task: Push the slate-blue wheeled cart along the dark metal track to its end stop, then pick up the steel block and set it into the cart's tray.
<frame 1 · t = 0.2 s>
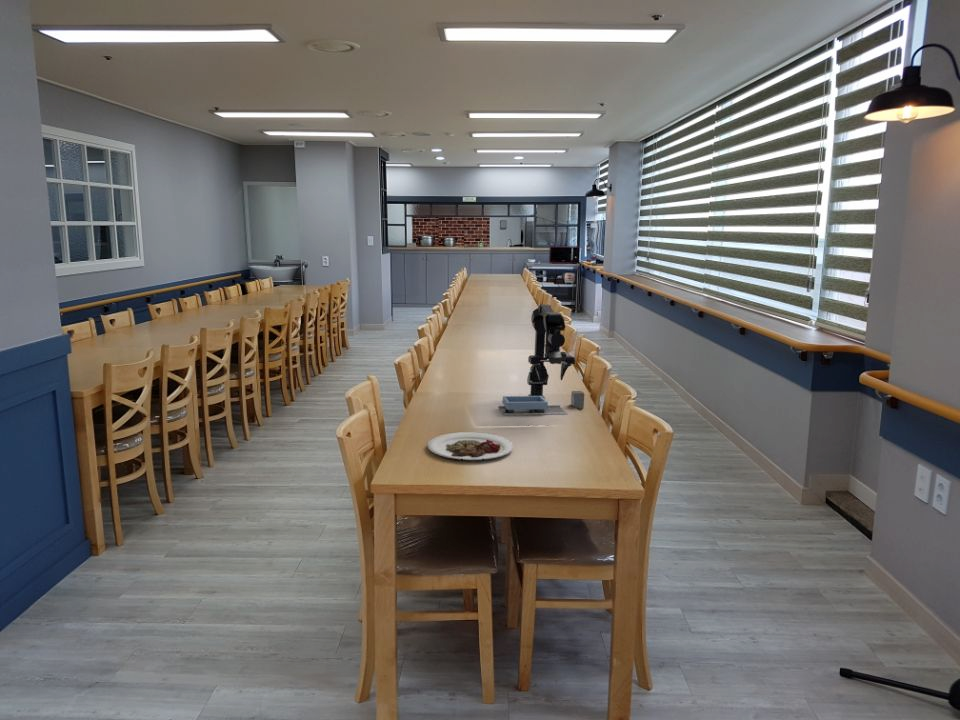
hand: (550, 379, 288), 15 cm above the table, tool pointing down, fingers open, 9 cm apart
track: (532, 412, 292), on the table
plated food: (470, 450, 242), on the table
cart: (524, 404, 291), point 3 cm above the table, slide at 0.0 cm
steel block: (577, 407, 302), on the table
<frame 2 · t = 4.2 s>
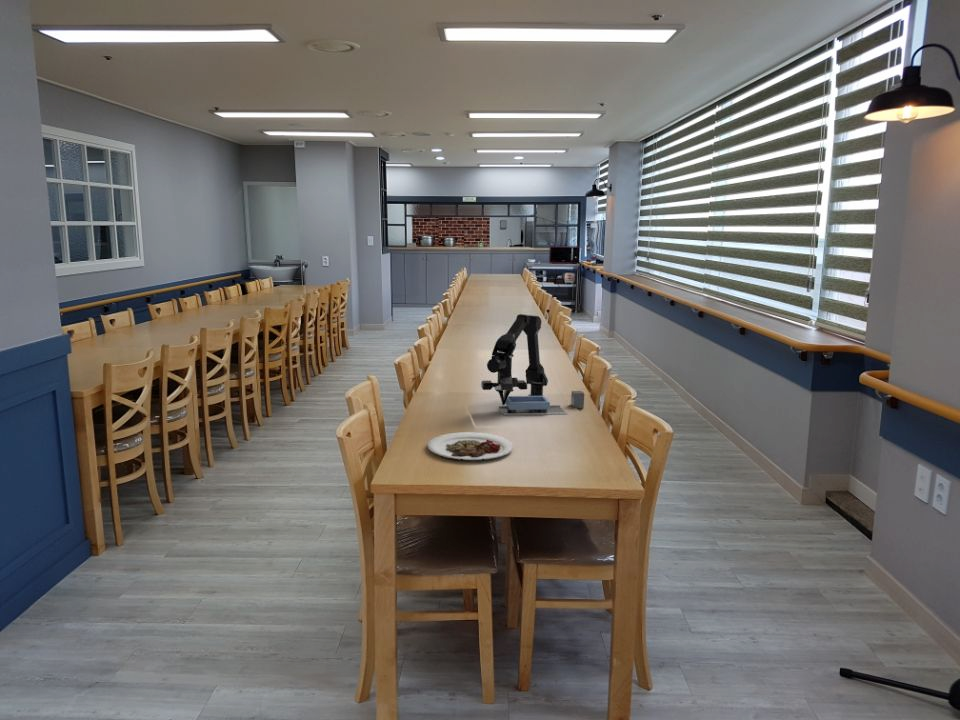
hand: (503, 404, 290), 3 cm above the table, tool pointing down, fingers closed
cart: (527, 404, 291), point 3 cm above the table, slide at 1.0 cm, touching gripper
everything else where it was.
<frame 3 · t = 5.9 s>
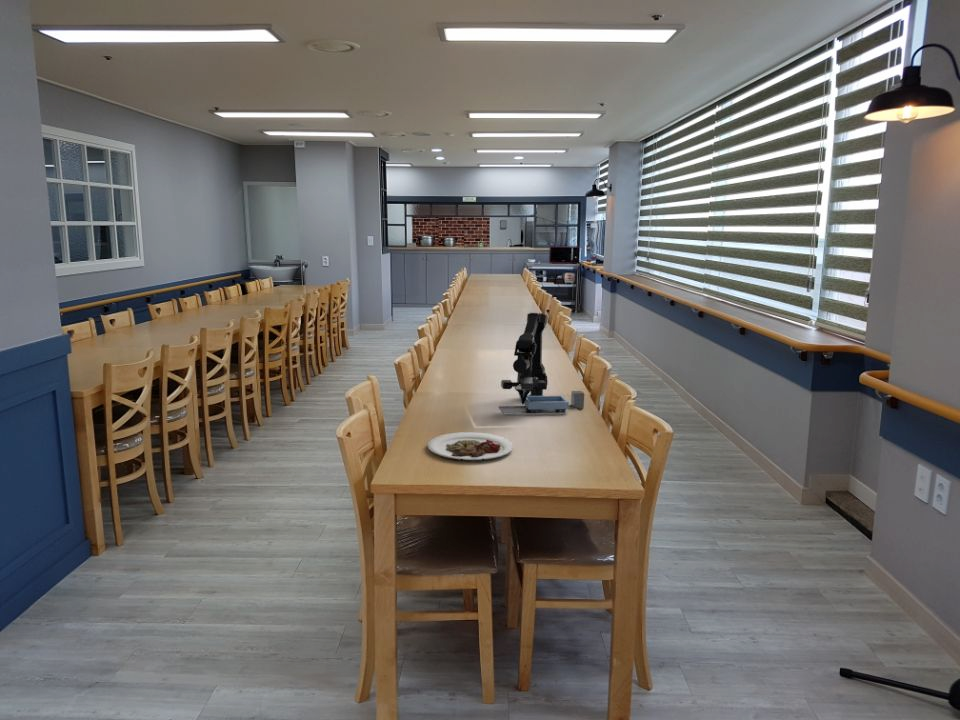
hand: (522, 404, 291), 3 cm above the table, tool pointing down, fingers closed
cart: (545, 404, 293), point 3 cm above the table, slide at 9.1 cm, touching gripper
everything else where it was.
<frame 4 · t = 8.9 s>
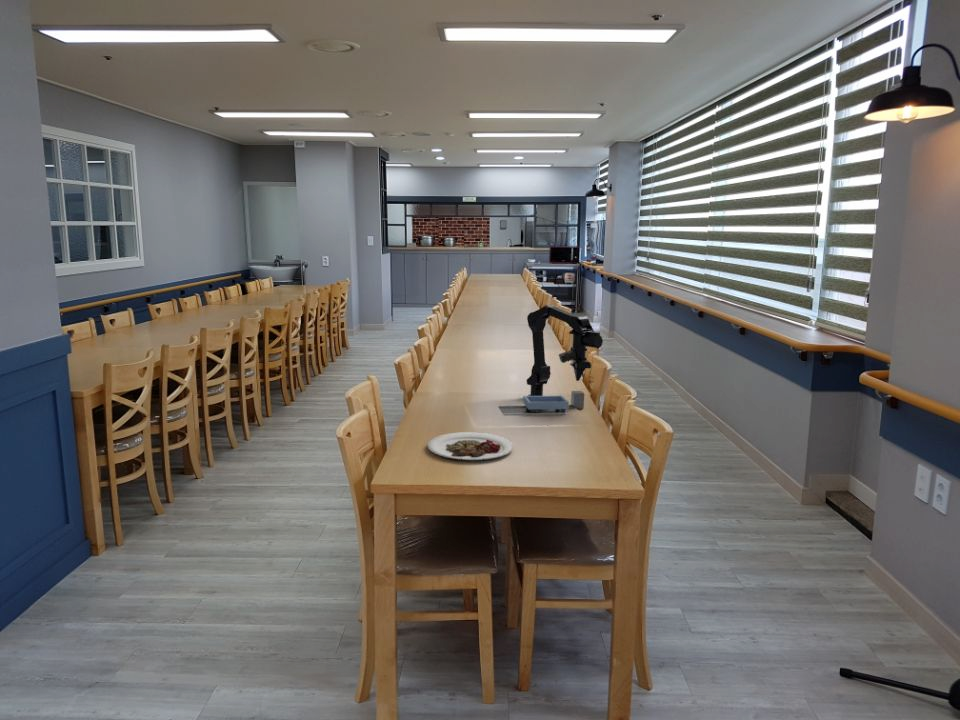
hand: (577, 380, 300), 12 cm above the table, tool pointing down, fingers closed
cart: (545, 404, 293), point 3 cm above the table, slide at 9.0 cm
everything else where it was.
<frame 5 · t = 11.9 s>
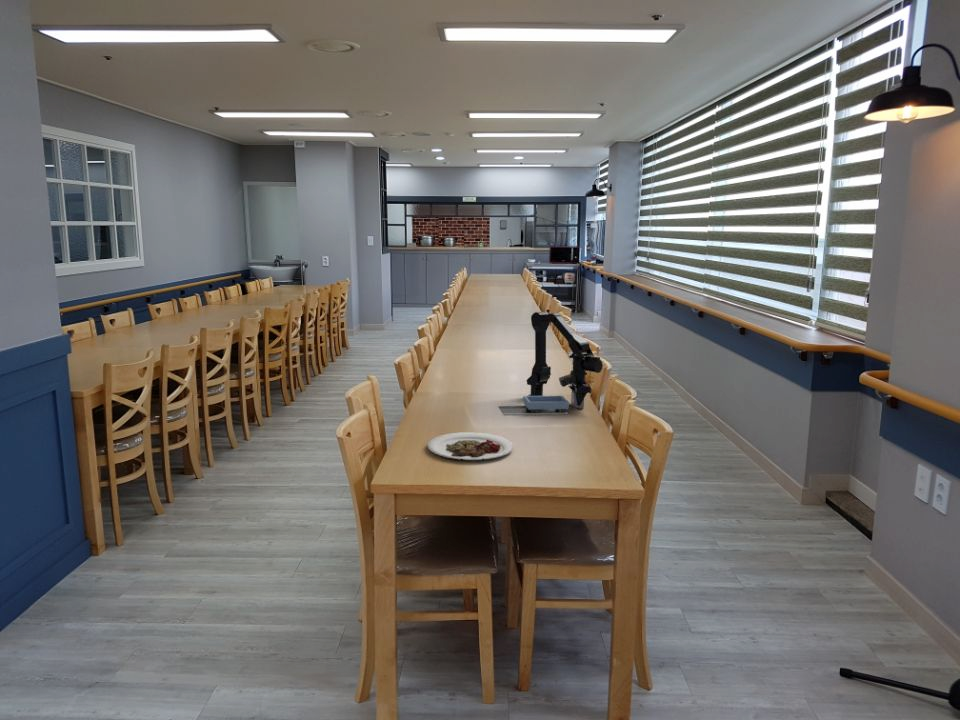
hand: (577, 404, 302), 2 cm above the table, tool pointing down, fingers closed on steel block, 4 cm apart
steel block: (577, 407, 302), on the table, touching gripper
everything else where it was.
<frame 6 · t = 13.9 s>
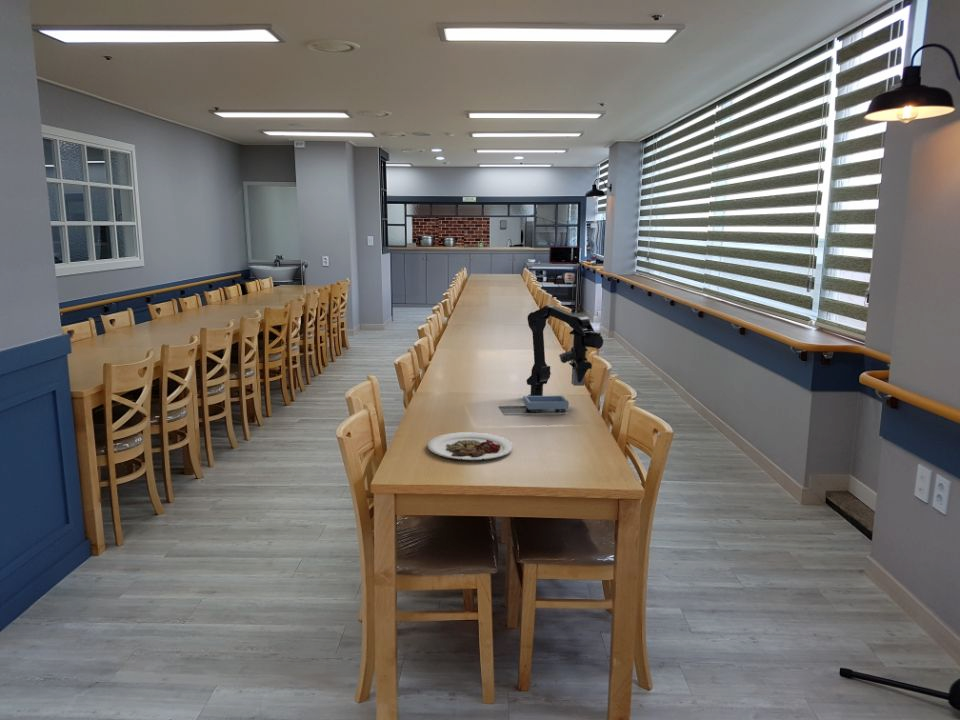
hand: (577, 381, 300), 12 cm above the table, tool pointing down, fingers closed on steel block, 4 cm apart
steel block: (577, 384, 300), point 10 cm above the table, touching gripper
everything else where it was.
when the fingers open (7 cm above the table, at t = 16.2 s): steel block drops 1 cm, resting on cart.
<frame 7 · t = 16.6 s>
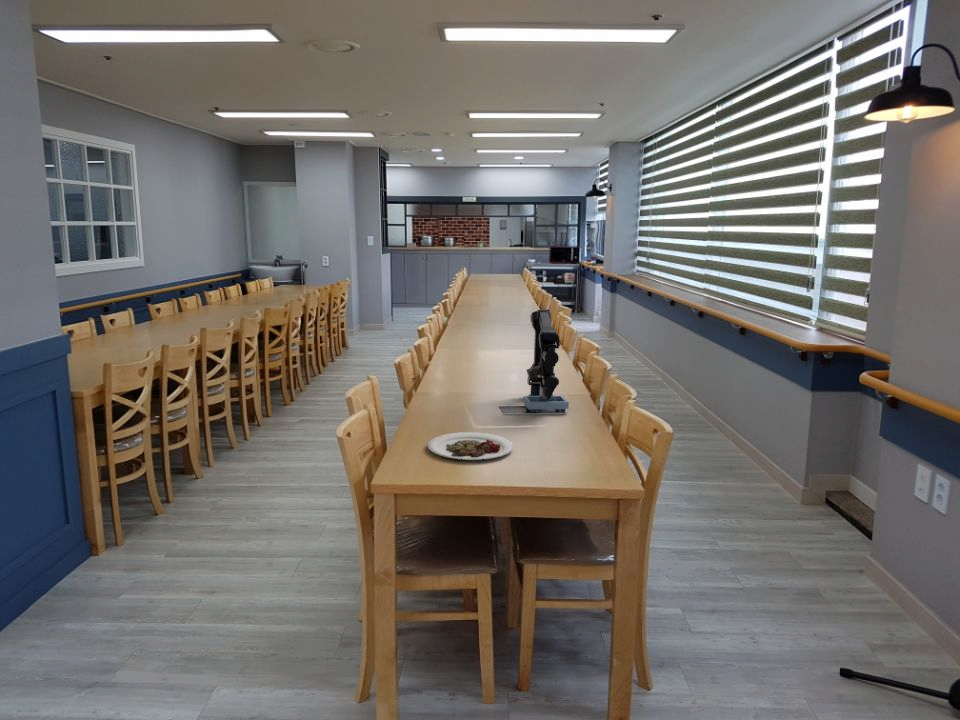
hand: (545, 396, 292), 7 cm above the table, tool pointing down, fingers open, 8 cm apart
cart: (545, 404, 293), point 3 cm above the table, slide at 9.0 cm, touching steel block
steel block: (545, 403, 292), point 4 cm above the table, touching cart
everything else where it was.
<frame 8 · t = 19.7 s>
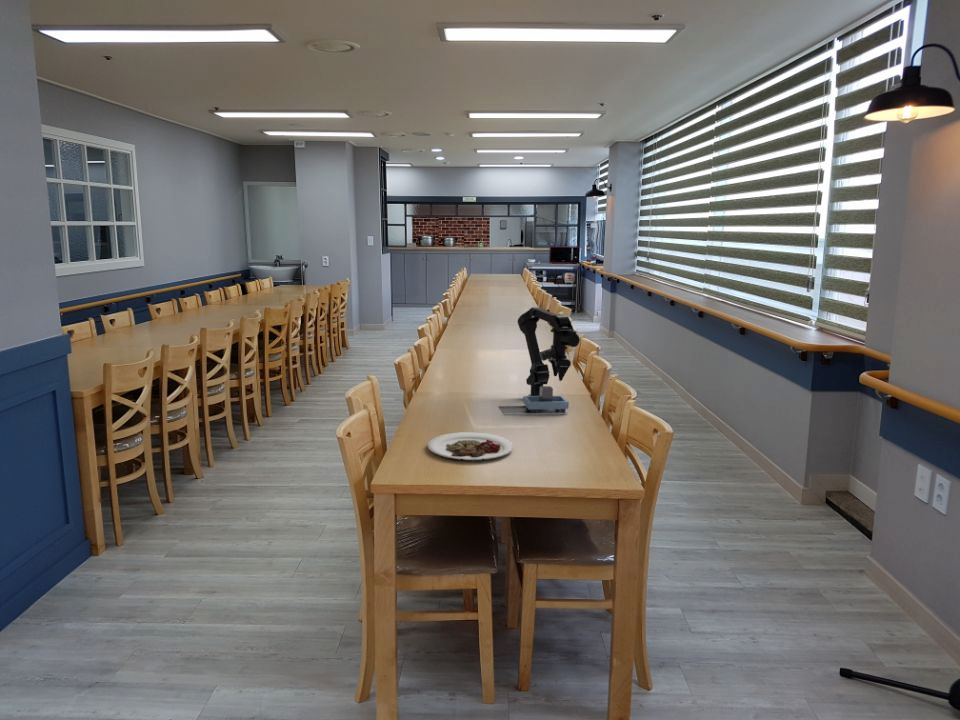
hand: (557, 378, 304), 12 cm above the table, tool pointing down, fingers open, 9 cm apart
nothing on the table moved.
at the end: cart slide at 9.0 cm; steel block inside the target area on the cart (0.0 cm from its centre), point 3.0 cm above the cart's base; steel block tilted 0° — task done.
